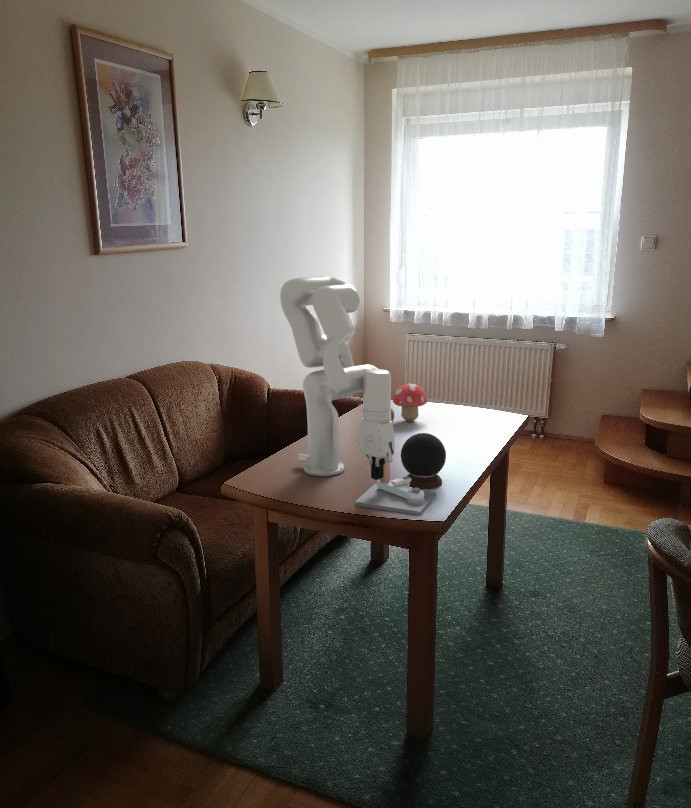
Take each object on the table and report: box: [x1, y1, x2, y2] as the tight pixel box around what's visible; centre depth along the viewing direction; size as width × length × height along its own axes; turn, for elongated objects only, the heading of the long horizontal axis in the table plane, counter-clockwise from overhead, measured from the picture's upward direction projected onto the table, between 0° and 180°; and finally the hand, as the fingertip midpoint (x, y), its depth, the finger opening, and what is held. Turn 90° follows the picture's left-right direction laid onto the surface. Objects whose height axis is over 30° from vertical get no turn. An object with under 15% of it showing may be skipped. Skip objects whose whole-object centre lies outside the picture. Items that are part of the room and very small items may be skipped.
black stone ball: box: [400, 432, 447, 490], centre depth 198 cm, size 13×13×15 cm
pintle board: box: [354, 475, 437, 516], centre depth 186 cm, size 18×14×5 cm
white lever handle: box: [376, 462, 425, 502], centre depth 187 cm, size 16×4×8 cm, turn 42°
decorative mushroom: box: [392, 383, 428, 422], centre depth 263 cm, size 13×13×15 cm
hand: (377, 478), depth 189 cm, fingers closed
